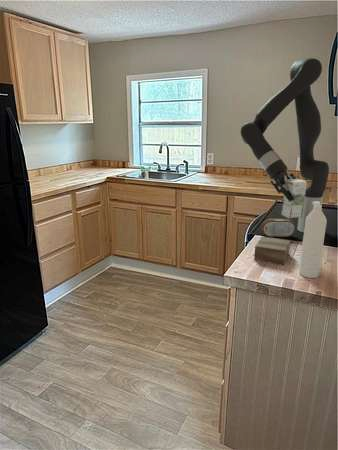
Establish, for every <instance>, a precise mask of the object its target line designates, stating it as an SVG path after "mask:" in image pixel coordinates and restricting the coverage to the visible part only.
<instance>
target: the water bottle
mask: <svg viewBox="0 0 338 450" xmlns="http://www.w3.org/2000/svg"><path fill="white" fill-rule="evenodd" d="M312 205H314V208H313V210H312V211H311V212H310V213H309V215H308V216H307V217H306V220H305V228H304V232H303V238H302V244H301V245H302V246H301V254H300V262H299V268H298V269H299V270H298V272H299V273H298V274H299V275H301V276H302V277H304V278H308V279H309V278H310V279H316V278H318V277H319V276H320V271H321V269H320V268H321V263H322V255H323V248H324V241H325V235H326V228H327V223H328V221H327V220H328V219H327V217H326V216H325V214H324V212H323V208H322V207H323V205H322V206H321V205H320V202H318V201H313V203H312Z"/></svg>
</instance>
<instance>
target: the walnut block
mask: <svg viewBox="0 0 338 450" xmlns="http://www.w3.org/2000/svg"><path fill="white" fill-rule="evenodd" d="M290 245H291V240H285V239H279V238H274V237H268V236H261V237H260V238H259V240H258V242H256V244H255V246H254V257H253V258H254V259H253V260H254V261H258V260H259V261H258V262H263V261H264V263H265V262H266V263H269V262H271V263H270V264H274V263H275V265H280V264H281V266H285V264H286V261H287V260H288V259H287V258H288V256H289V253H290V247H291V246H290Z"/></svg>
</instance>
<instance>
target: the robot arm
mask: <svg viewBox="0 0 338 450" xmlns="http://www.w3.org/2000/svg"><path fill="white" fill-rule="evenodd" d="M322 70H323V66H322V62H321V61H320V60H319V59H317V58H312V57H310V58H309V57H308V58H304V59H298V60H296V61H294V62H293V64H292V65H291V67H290V71H289V80H290V82H289V83H288V84H287V85H286V86H285V87H284V88H282V89H281V90H280V91H279V92H277V93H276V94H275V95H273V96H272V97H270V98H269V100H267V101H266V102H265V103H264V105H262V107H261V108H259V110H258V112H256V115H255V118H254V120H253V122H251V121H250V122H249V121H248V122H246V123H244V124H243V125H241V128H240V136H241V138H242V141H243V142H244V143H245V144H247V145H248V146H249V147H250V149H251V151H252V153H253V155H254V157H255V158H256V159H257V161H258V162H259V163H260V165H261V167H262V169H263V171H264V172H265V173H266V175H267V176H268V177H269V179H270V183H271V185H272V186H273V188H274V189H275V190H276V192H277V193H278V194H282V195H283V194H284V195H285V196H286V198H287V199H288V201H292V200H293V199H294V197H293V195H292V194H291V193H290V191H288V187H287V186H288V183H287V179H298V178H297V176H296V175H295V174H294V173H293V172H291V173H290V174H289V173H288V172H287V171H288V169H289V168H288V167H287V165H286V164H285V162H284V161H283V160H282V158H281V156H279V154H278V153H277V152H276V151H275V149H274V148H273V147H272V146H271V145H270V143H269V142H268V141H267V139H266V138H265V135H264V133H265V132H266V130H267V129H268V127H269V126H270V125H271V124H272V123H273V121H275V120H276V118H277V117H278V116H279V115H280V114H281V113H282V112H283V111H284V110H285V109H286V107H288V106H289V104H291V103H292V102H293V101H294V106H295V114H296V125H297V133H298V134H297V135H298V143H299V145H298V146H299V172H300V175H301V177H302V178H303V180H305V181H306V180H307V181H311V183H310V185H309V186H308V187H307V186H306V191H305V198H304V205H303V212H302V217H299V218H298V220H297V221H298V222H297V231H299V232H300V233H304V228H305V220H306V217H307V216H308V215H309V213H310V212H311V211H312V210H313V208H314V205H312V203H313V201H318V202H320V205H321V206H322V207H323V199H324V194H325V192H326V189H327V184H328V178H329V173H330V167H329V164H328V162H326V161H324V160H317V159H315V157H314V156H315V155H314V148H315V145H316V143H317V142H318V139H319V137H320V135H321V131H322V119H321V113H320V111H319V108H318V106H317V103H316V102H315V100H314V98H313V95H312V90H311V86H312V85H313V84H314V83H315V82H316V81H318V79H319V78H320V76H321V74H322V72H323V71H322Z"/></svg>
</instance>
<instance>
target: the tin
mask: <svg viewBox="0 0 338 450" xmlns="http://www.w3.org/2000/svg"><path fill="white" fill-rule="evenodd" d="M260 226H261V227H260V229H261V231H262V233H263V235H265V237H267V238H289V237H291V236H293V235H294V234H295V232H296V230H297V227H296V224H295V222H294V221H293V220H292V219H291V218H274V217H273V218H267V219H265V220H264V221H263V222H262V223H261V225H260Z"/></svg>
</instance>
